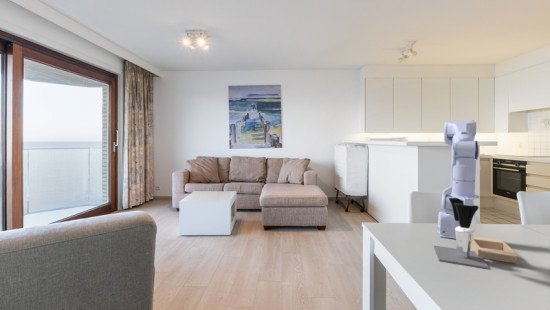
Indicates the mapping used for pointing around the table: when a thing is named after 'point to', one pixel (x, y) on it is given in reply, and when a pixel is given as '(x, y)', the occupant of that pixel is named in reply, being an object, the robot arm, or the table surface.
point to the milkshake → (463, 241)
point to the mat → (451, 257)
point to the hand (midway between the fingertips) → (461, 224)
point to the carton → (493, 249)
